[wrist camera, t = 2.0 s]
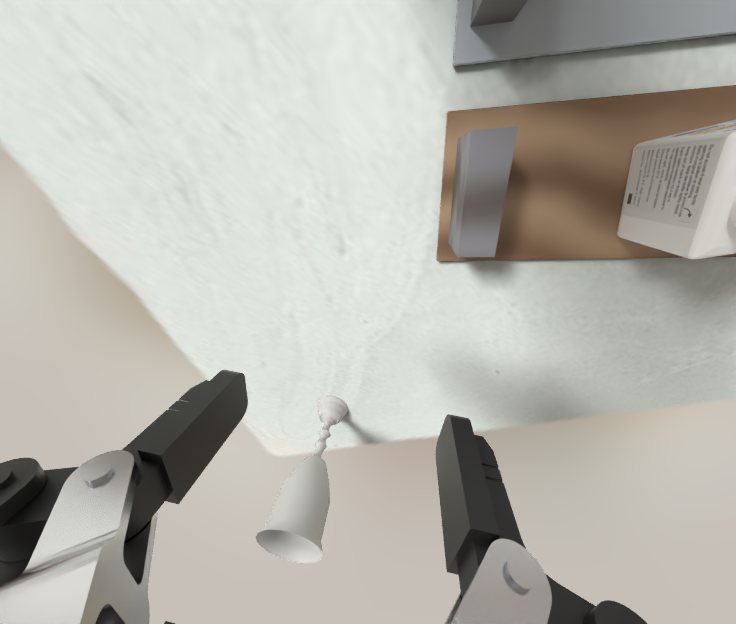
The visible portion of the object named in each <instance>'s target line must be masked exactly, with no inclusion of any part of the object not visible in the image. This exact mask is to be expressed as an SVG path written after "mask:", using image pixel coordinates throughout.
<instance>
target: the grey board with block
mask: <svg viewBox="0 0 736 624" xmlns="http://www.w3.org/2000/svg"><path fill="white" fill-rule="evenodd" d="M730 34H736V0H458V3H457V16H456V30H455V43H454V56H453V66H460V65H469V64H478V63H486V62H495V61H504V60H512V59H521V58H530V57H539V56H547V55H556V54H565V53H573V52H582V51H591V50H600V49H608V48H617V47H626V46H635V45H643V44H652V43H661V42H669V41H678V40H687V39H696V38H704V37H713V36H722V35H730Z"/></svg>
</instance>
